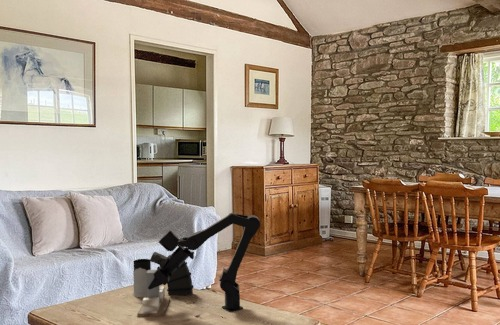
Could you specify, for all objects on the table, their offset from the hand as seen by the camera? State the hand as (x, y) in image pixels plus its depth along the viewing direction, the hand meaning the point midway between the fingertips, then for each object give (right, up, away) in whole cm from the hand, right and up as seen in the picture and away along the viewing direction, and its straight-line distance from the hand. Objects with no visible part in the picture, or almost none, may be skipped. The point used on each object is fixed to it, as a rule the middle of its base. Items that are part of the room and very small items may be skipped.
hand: (149, 287), depth 195 cm
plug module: (+1, -7, 0) cm, 7 cm away
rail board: (+1, -9, +3) cm, 10 cm away
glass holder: (-8, -9, +25) cm, 28 cm away
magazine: (+8, -9, +22) cm, 25 cm away
